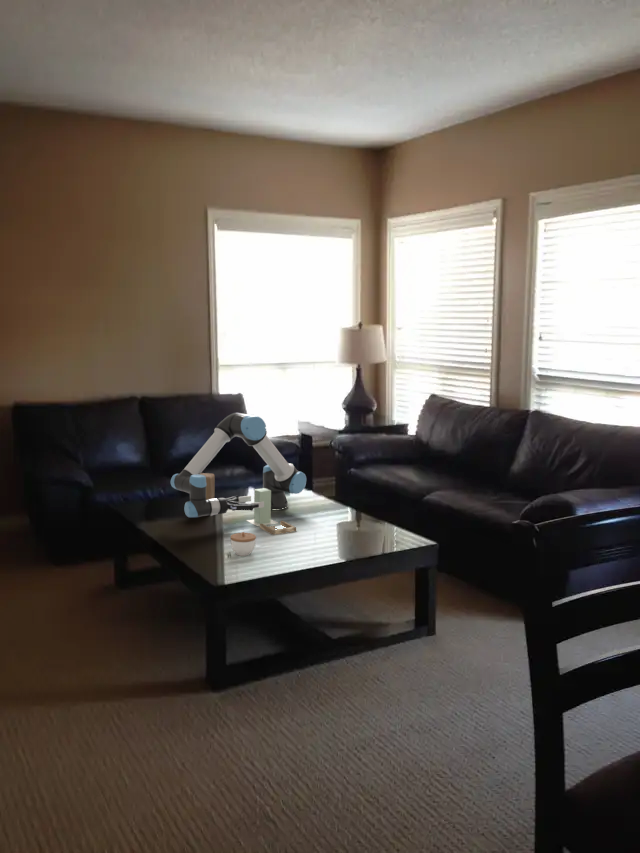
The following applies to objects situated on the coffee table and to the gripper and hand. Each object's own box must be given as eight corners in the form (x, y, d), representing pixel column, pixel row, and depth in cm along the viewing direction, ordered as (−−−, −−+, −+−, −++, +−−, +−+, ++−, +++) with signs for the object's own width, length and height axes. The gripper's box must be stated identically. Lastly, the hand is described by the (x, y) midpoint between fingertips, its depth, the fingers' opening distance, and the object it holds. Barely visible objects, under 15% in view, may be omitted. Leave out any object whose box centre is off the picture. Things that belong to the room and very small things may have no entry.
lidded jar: (260, 553, 319) (261, 532, 318) (241, 559, 311) (242, 537, 310) (244, 548, 326) (244, 527, 325) (225, 553, 319) (225, 532, 317)
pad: (267, 518, 376) (267, 517, 376) (279, 524, 366) (279, 523, 366) (246, 521, 369) (246, 520, 369) (257, 527, 359) (257, 526, 359)
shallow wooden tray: (282, 525, 363) (282, 520, 363) (296, 532, 352) (296, 527, 352) (259, 529, 357) (259, 523, 356) (273, 536, 346) (273, 530, 345)
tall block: (264, 519, 371) (265, 488, 369) (270, 522, 366) (271, 490, 364) (254, 521, 368) (254, 489, 366) (259, 524, 363) (260, 491, 361)
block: (214, 511, 388) (215, 473, 385) (210, 515, 378) (210, 477, 376) (196, 510, 389) (196, 472, 386) (190, 515, 379) (190, 476, 377)
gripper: (206, 508, 364) (245, 503, 375) (228, 520, 343) (269, 514, 354) (206, 493, 363) (245, 488, 374) (228, 504, 342) (269, 499, 353)
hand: (257, 501), depth 364 cm, fingers open, 13 cm apart
